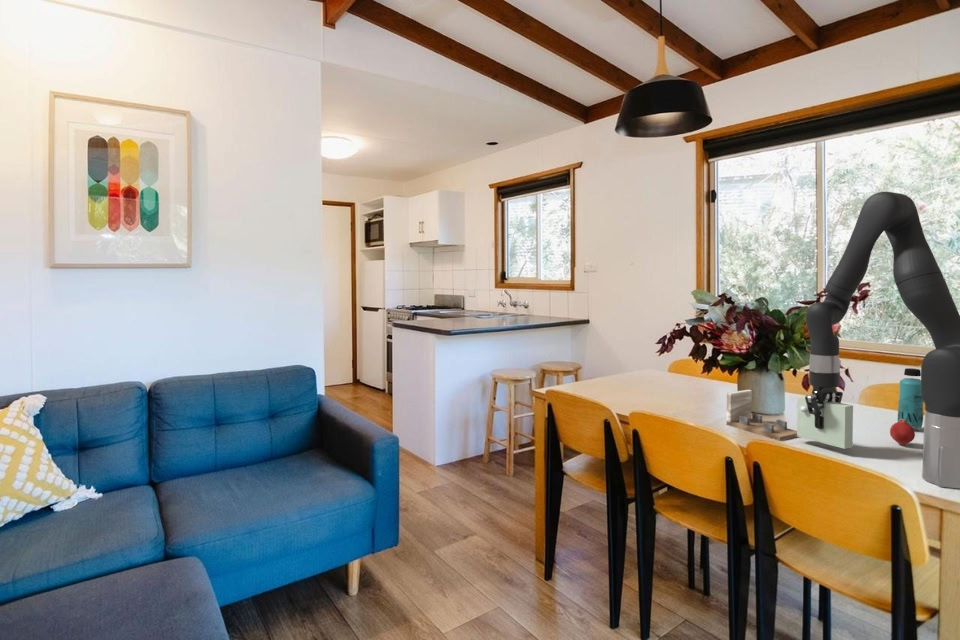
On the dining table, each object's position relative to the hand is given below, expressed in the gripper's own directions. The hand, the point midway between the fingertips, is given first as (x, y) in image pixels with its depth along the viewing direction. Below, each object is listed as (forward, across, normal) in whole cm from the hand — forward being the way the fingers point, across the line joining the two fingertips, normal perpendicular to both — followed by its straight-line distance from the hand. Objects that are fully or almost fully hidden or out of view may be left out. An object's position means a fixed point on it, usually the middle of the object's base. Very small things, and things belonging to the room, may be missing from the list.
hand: (823, 427), depth 152 cm
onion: (+7, -22, +9) cm, 25 cm away
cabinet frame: (+6, 0, -20) cm, 21 cm away
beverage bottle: (+6, -41, +1) cm, 42 cm away
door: (+4, 0, 0) cm, 4 cm away
